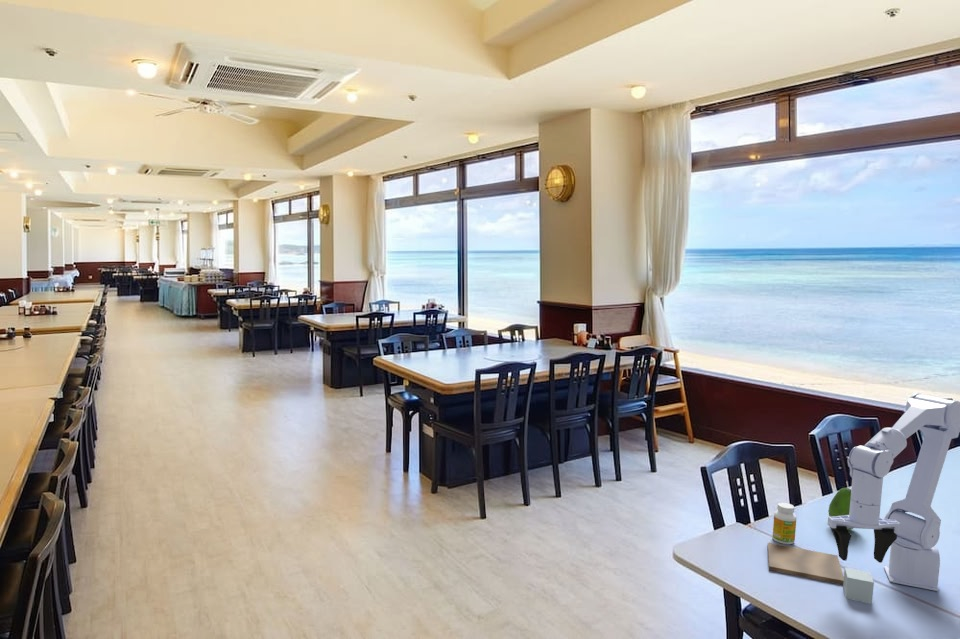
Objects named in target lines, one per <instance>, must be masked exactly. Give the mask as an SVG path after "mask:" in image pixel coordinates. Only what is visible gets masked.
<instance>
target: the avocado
mask: <svg viewBox="0 0 960 639" xmlns="http://www.w3.org/2000/svg"><path fill="white" fill-rule="evenodd" d="M850 500H851V488H850V487H842V488H840V489H839V490H838V491H837V492H836V494H835V495H834V496H833V498H832V500H831V502H830V504H829V505H828V516H830V517H834V516H844V515H849V511H850ZM853 529H854V528H847V530H848V531H850V530H853Z"/></svg>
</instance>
